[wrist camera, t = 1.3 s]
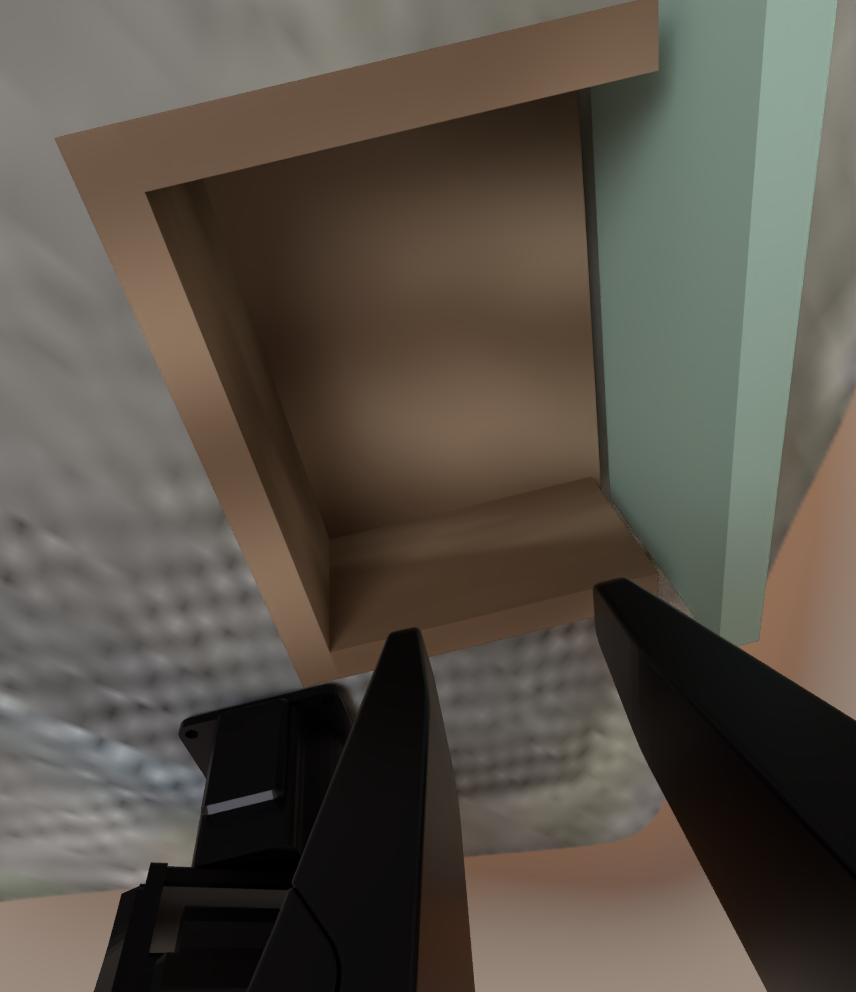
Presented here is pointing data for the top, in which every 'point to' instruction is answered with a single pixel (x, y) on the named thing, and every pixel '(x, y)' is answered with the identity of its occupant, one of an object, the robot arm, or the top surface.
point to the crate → (386, 331)
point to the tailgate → (708, 284)
